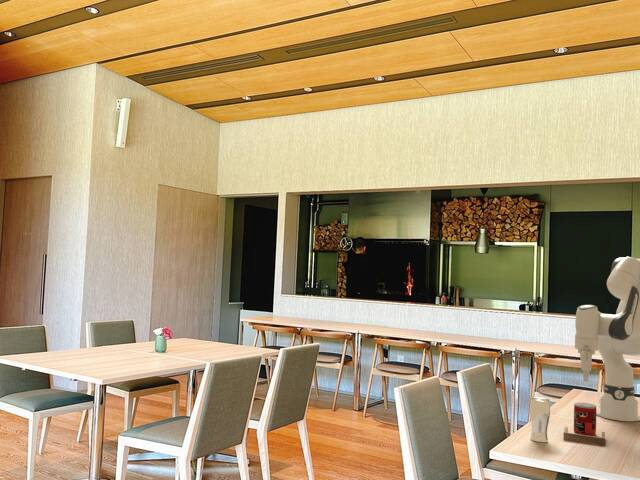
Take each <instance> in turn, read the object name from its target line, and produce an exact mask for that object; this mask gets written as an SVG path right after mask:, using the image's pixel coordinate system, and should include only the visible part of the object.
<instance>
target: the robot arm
mask: <svg viewBox="0 0 640 480" xmlns="http://www.w3.org/2000/svg"><path fill="white" fill-rule="evenodd" d="M606 286H607V287H606V288H607V290H608V292H609V293H610V294H611V295H612V296H614V297H615V298H617V299H619V300H620V301H619V303H618V307H617V309H616V312H615V314H611V313H602V312H600V311H599V310H598V306H596V305H594V304H583V305H579V306H578V307H577V308H576V309H577V310H576V313H575V321H574V322H575V325H574V326H575V335H574V350H575V349H576V350H577V354H579V357H580V368H581V369H580V370H582V371H583V372H582V374H583V375H582V377H583V381H584V382H589V376H590V372H591V371H592V367H593V366H592V359H593V358H592V357H593V355H596V351H597V352H599V354H600V356H601V358H602V360H603V364H604V374H605V375H604V377H605V379H604V380H605V383H604V384H603V391H604V393H603V394H602V395H601V396H600V398H599V400H598V403H599V405H598V407H599V409H598V410H596V416H598V417H602V418H604V419H609V420H614V421H620V422H640V415H639V400H637V399H636V398H635V386H634V369H633V367H632V366H631V365H630V364H629V363H627V361H626V360H625V358H624V355H627V356H630V357H631V356H632V357H636V356H637V357H638V356H639V357H640V258H635V257H632V256H626V257H623V256H622V257H618V258H616V259H614V261H612V264H611V269H610V275H608V278H607V280H606Z"/></svg>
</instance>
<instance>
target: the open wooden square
mask: <svg viewBox="0 0 640 480" xmlns="http://www.w3.org/2000/svg"><path fill="white" fill-rule="evenodd" d="M568 428H569V426H564V429H563V440H564V441H572V442H577V443H578V442H579V443H584V444H585V443H586V444H591V445H598V446H604V447H605V446H606V433H605V431H601V436H595V435H592V436H588V435H581V434H577V433H572V432H568V431H569V430H568Z"/></svg>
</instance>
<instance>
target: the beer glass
mask: <svg viewBox="0 0 640 480" xmlns="http://www.w3.org/2000/svg"><path fill="white" fill-rule="evenodd" d="M550 401H551V400H550V399H549V398H545V397H535V396H533V397H530V404H529V405H530V406H529V417H530V423H531V434H530V440H531V441H533V442H537V443H541V444H542V443H543V444H544V443H545V444H546V443H548V442H549V437H548V427H549V422H550V417H551V403H550Z"/></svg>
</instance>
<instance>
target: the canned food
mask: <svg viewBox="0 0 640 480" xmlns="http://www.w3.org/2000/svg"><path fill="white" fill-rule="evenodd" d="M596 411H597V405H595V404H593V403H587V402H574V404H573V431H574V434H580V435H587V436H595V435H596V433H597V415H596Z"/></svg>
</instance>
